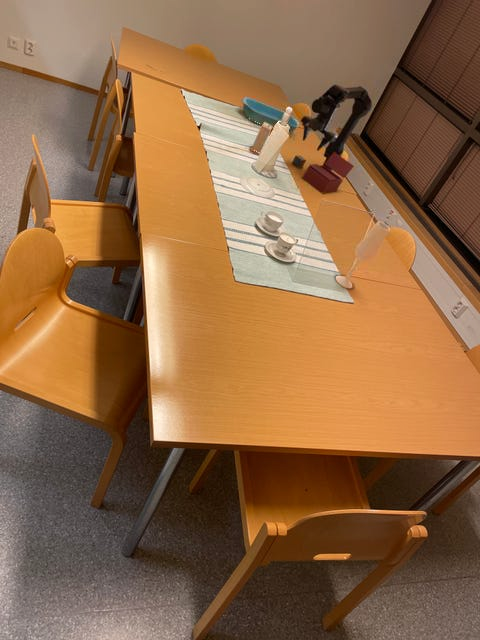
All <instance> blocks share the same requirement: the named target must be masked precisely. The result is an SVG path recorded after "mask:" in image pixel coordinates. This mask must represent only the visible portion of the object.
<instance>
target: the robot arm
mask: <svg viewBox="0 0 480 640" xmlns="http://www.w3.org/2000/svg"><path fill="white" fill-rule="evenodd" d="M351 99H353V100H354V102H353V104H352V107H351V114H350V116H349V117H348V119H347V120H346V122H345V123H344V125H343V127H342V129H341V130H340V132H339V133H338V135H337V134H336V133H334V132H332V131H327V130H328V125H329V123H331V122H332V121H333V119H332V117H333V116H334V114H335V112H336V111H337V108H338V109H339V108H340V107H341V105H340V104H341V103H345V101H346V100H351ZM371 99H372V98H370V95H369V91H368V90H367V89H366V88H364V87H363V86H360V85H359V86H353V87H343V86H341V85H340V84H339V85H338V84H333V85H332V86H330V87H329V88H328V89H327V90H326V91H325V92H324V93H323V94H322V95H321V96H319V98H316V99H314V100H313V101H312V103H311V112H313V113H314V114H317V115H316V117H313V118H312V117H311V116H309V115H304V116H302V117H301V119H300V122H301V125H302V126H303V134H302V135H303V136H302V141H305V140H306V139H307V137H308V135H309V134H310V133H311V130H312V131H313V132H317V131H318V132H320V133H321V134H322V135H323V137H322V138H321V141H320V143H319V145H317V148H316V151H318V152H319V151H320V150H321V149H322V148H323V147H324V146H326V145H327V144H328V145H327V146H326V148H325V150H324V153H323V157H324V158H325V160H324V162H323V163H322V165H324V166H325V167H327V168H328V169H329V170H331V171H332V172H333V170H332V169H330V168H329V167H328V166H326V165H325V163H326V162H327V160H328V159H329V158H330V156H331V155H332V154H333V153H334V152H335V153H337V154H338V155H339V156H341V157H342V155H343V153H344V150H345V144H346V142H347V141H348V139H349V137H350V136H351V134H352V133H353V131H354V129H355V127H356V126H357V124H358V123H359V121H360V120H361V118H364V117H365V116H367V115H368V113H369V112H370V111H371V110H372V109H373V102H372V100H371Z"/></svg>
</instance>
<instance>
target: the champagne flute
mask: <svg viewBox="0 0 480 640" xmlns="http://www.w3.org/2000/svg"><path fill="white" fill-rule="evenodd" d="M390 230H391V229H390V227H389V226H388V225H387V224H386V223H384V222H383V221H376V223H375V224H374V225H373V226H372V227H371V229H370V230H369V231H368V232H367V233H366V235H365V236H364V237H363V238H362V240H361V241H360V242H358V244H357V246H356V247H355V251H354V252H355V258H356V261H355V263H354V264H353V266H352V267H351V269H350V270H349V271H348V273H347V274H346V276H344V275H337V276H335V280H336V281H337V283H338V284H339V285H340V286H341V287H343V288H346V289H353V283H352V282H351V280H350V277H351V276H352V275H353V274H354V272H355V271H356V269H357V267H358V266H359V265H360V264H361V263H365V262H369V261H372V260H374V258H375V256H376V254H377V253H378V251H379V249H380V247H381V246H382V244H383V242H384V240H385V238H386V237H387V236H388V234H389V232H390Z"/></svg>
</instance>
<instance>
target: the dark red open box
mask: <svg viewBox="0 0 480 640" xmlns="http://www.w3.org/2000/svg"><path fill="white" fill-rule="evenodd" d="M302 179H303V180H304V181H305V182H307V183H308V184H310V185H311V186H312V187H314V189H316V190H317V191H319V192H320V193H321V194H326V193H334V192H337V191H338V189H339V188H340V186H341V184H342V183H343V181H344V178H343V177H341V176H340V175H339V174H337V173H336V172H335V171H333V170H332V171H331V170H329V169H328V168H327V167H325V166H324V165H323V164H322V165H321V164H320V165H319V164H317V163H312V164H309V165H308V166H307V168H306V170H305V172H304V174H303V176H302Z"/></svg>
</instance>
